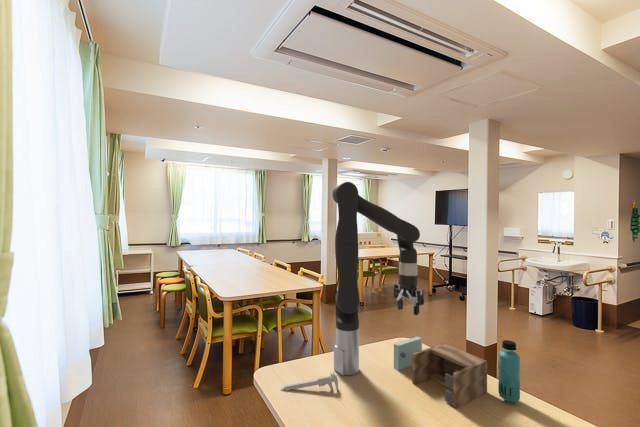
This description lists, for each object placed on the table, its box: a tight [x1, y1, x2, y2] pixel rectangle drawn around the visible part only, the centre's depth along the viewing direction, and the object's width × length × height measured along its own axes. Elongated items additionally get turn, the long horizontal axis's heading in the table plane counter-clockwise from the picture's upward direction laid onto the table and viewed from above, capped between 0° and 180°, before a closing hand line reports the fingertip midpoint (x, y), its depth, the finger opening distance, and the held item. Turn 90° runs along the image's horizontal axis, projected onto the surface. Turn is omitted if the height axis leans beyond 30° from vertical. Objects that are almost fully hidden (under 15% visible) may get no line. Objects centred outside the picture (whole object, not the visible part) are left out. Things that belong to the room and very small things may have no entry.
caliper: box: [281, 371, 339, 391], centre depth 114 cm, size 20×1×6 cm, turn 90°
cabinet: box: [411, 343, 488, 409], centre depth 115 cm, size 18×18×11 cm
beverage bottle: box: [497, 339, 521, 403], centre depth 107 cm, size 6×7×20 cm
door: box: [393, 336, 423, 371], centre depth 132 cm, size 4×14×10 cm, turn 122°
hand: (408, 312), depth 133 cm, fingers open, 8 cm apart
